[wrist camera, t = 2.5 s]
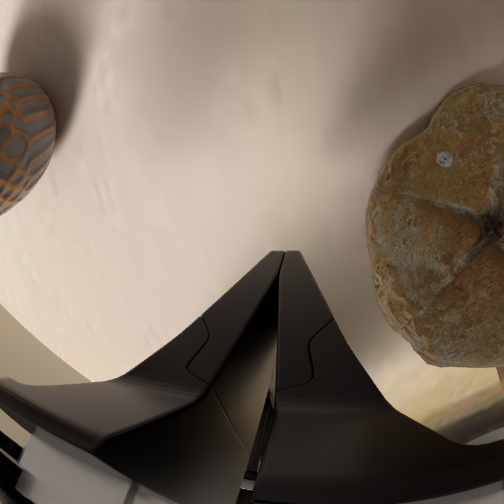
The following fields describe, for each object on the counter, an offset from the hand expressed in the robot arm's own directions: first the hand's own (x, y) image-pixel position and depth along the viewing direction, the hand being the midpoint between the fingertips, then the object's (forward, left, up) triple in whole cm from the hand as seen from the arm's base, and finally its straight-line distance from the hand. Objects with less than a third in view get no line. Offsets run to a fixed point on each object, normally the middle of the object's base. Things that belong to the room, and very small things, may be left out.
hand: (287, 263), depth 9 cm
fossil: (+7, +1, -4) cm, 8 cm away
